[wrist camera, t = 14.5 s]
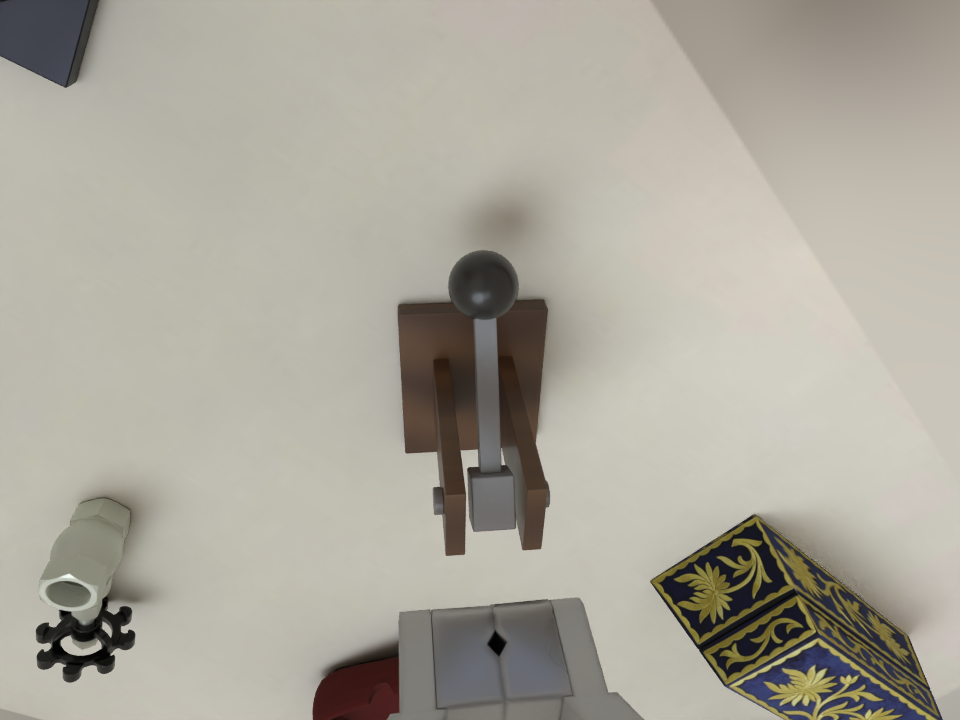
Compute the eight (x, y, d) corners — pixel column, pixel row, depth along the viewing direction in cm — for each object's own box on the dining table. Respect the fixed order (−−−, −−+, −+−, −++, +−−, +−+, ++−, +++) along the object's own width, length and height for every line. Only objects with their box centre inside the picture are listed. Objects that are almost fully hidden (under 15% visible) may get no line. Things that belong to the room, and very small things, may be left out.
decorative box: (818, 686, 73) (866, 775, 65) (649, 581, 59) (686, 679, 51) (909, 636, 69) (971, 725, 61) (752, 512, 55) (807, 607, 48)
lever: (444, 254, 36) (448, 247, 32) (511, 252, 36) (523, 245, 33) (455, 515, 37) (460, 537, 33) (520, 511, 37) (531, 532, 34)
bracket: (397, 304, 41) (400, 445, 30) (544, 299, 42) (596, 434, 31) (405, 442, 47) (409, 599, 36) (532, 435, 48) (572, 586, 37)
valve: (52, 487, 46) (55, 597, 52) (7, 566, 40) (16, 679, 46) (156, 501, 47) (147, 606, 54) (126, 579, 42) (120, 686, 48)
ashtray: (344, 613, 57) (340, 668, 53) (519, 639, 62) (528, 691, 58) (292, 723, 65) (286, 778, 61) (449, 738, 70) (453, 790, 66)
